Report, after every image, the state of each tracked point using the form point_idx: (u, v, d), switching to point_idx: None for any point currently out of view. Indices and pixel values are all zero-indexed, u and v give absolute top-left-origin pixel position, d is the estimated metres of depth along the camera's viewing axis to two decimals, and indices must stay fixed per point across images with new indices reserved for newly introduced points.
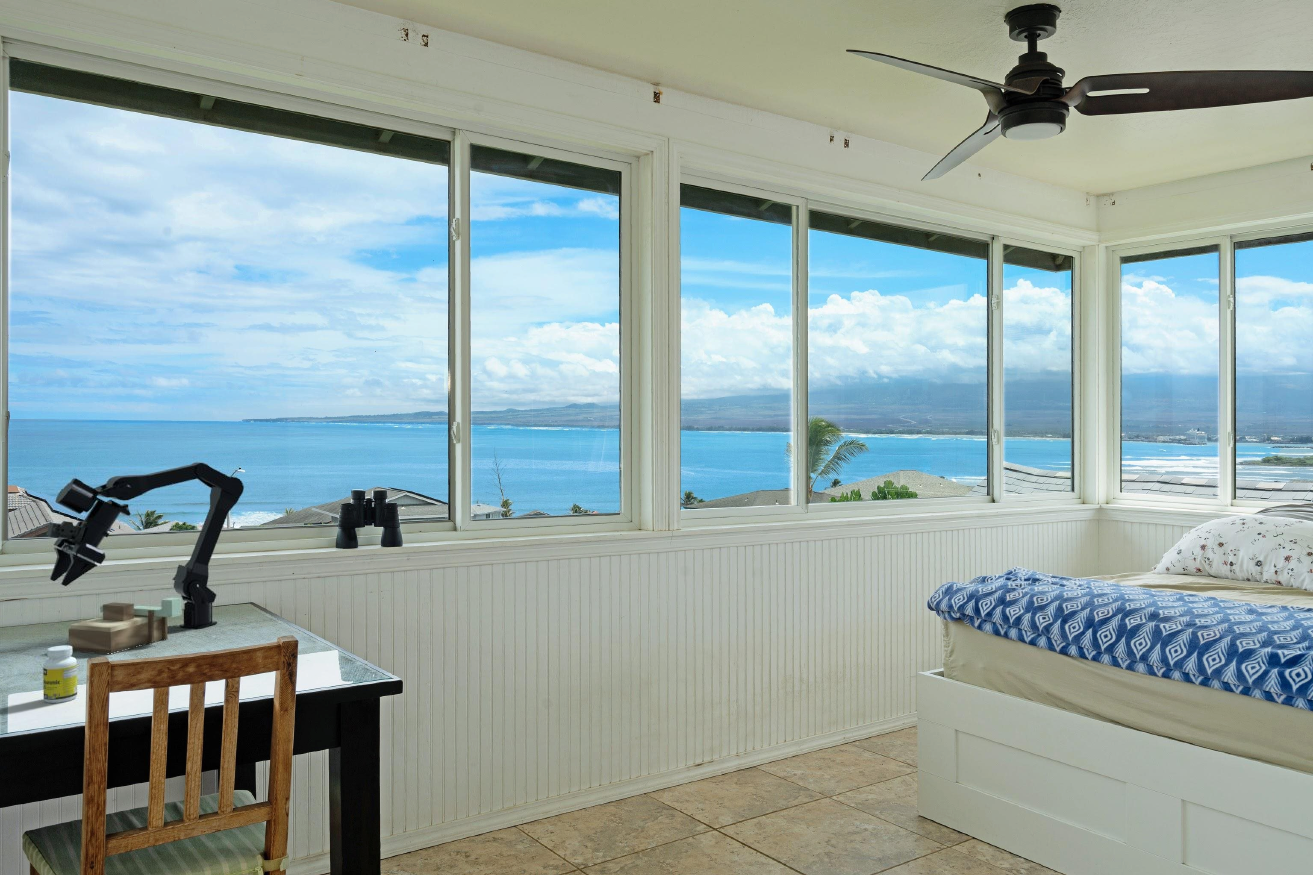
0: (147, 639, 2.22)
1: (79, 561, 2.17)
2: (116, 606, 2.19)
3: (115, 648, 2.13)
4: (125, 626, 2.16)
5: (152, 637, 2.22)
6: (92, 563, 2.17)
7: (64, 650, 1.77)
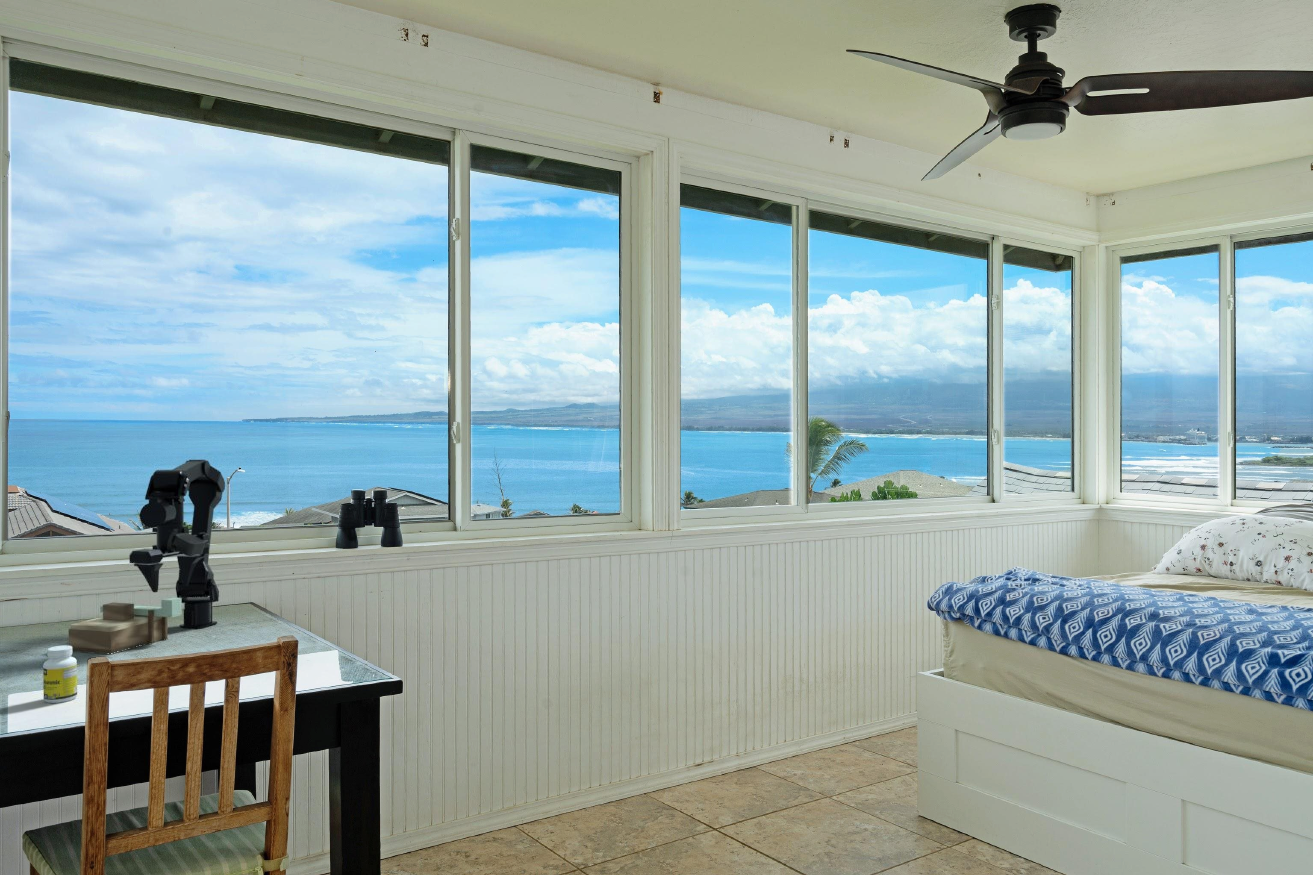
0: (147, 639, 2.22)
1: None
2: (116, 606, 2.19)
3: (115, 648, 2.13)
4: (125, 626, 2.16)
5: (152, 637, 2.22)
6: None
7: (64, 650, 1.77)
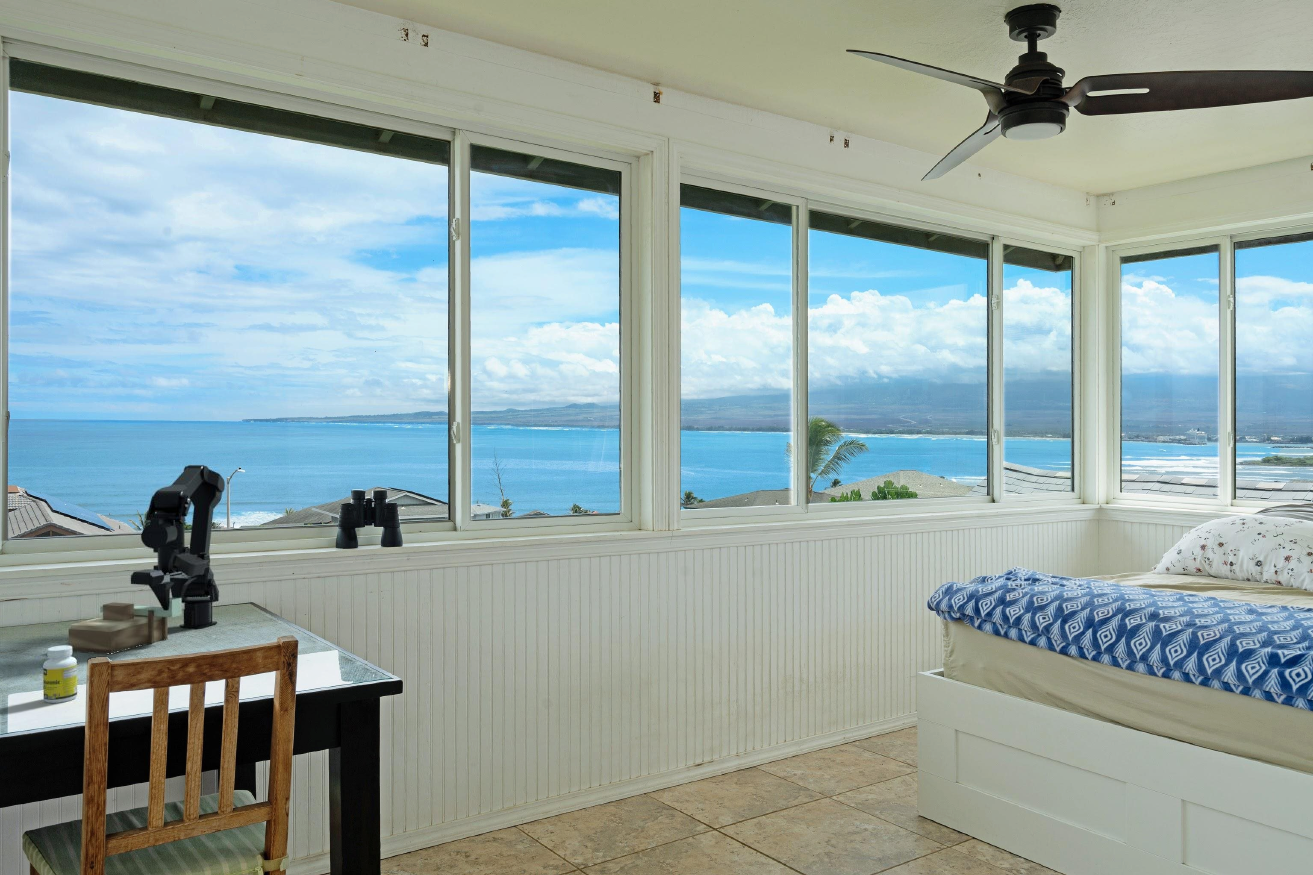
0: (147, 639, 2.22)
1: None
2: (116, 606, 2.19)
3: (115, 648, 2.13)
4: (125, 626, 2.16)
5: (152, 637, 2.22)
6: None
7: (64, 650, 1.77)
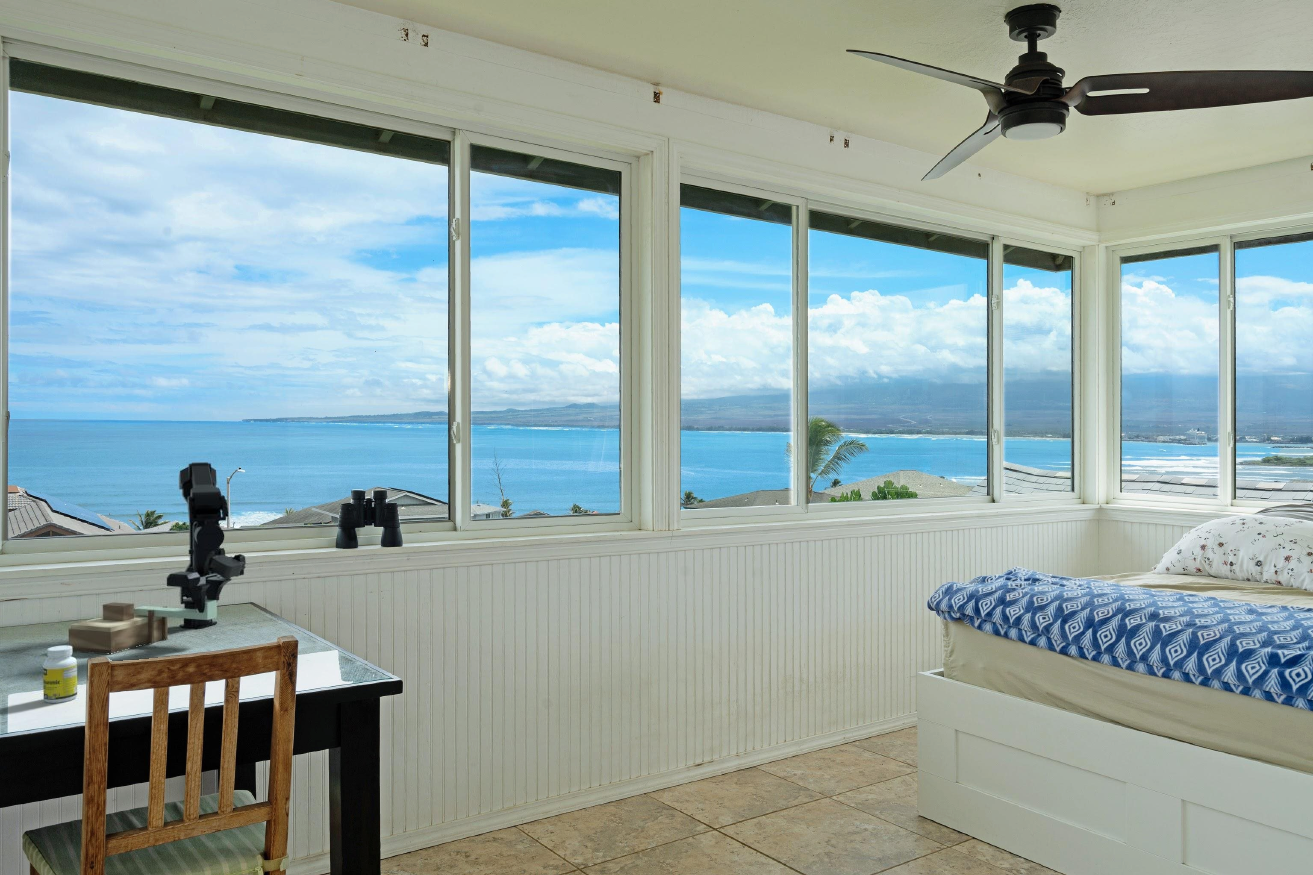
0: (147, 639, 2.22)
1: None
2: (116, 606, 2.19)
3: (115, 648, 2.13)
4: (125, 626, 2.16)
5: (152, 637, 2.22)
6: None
7: (64, 650, 1.77)
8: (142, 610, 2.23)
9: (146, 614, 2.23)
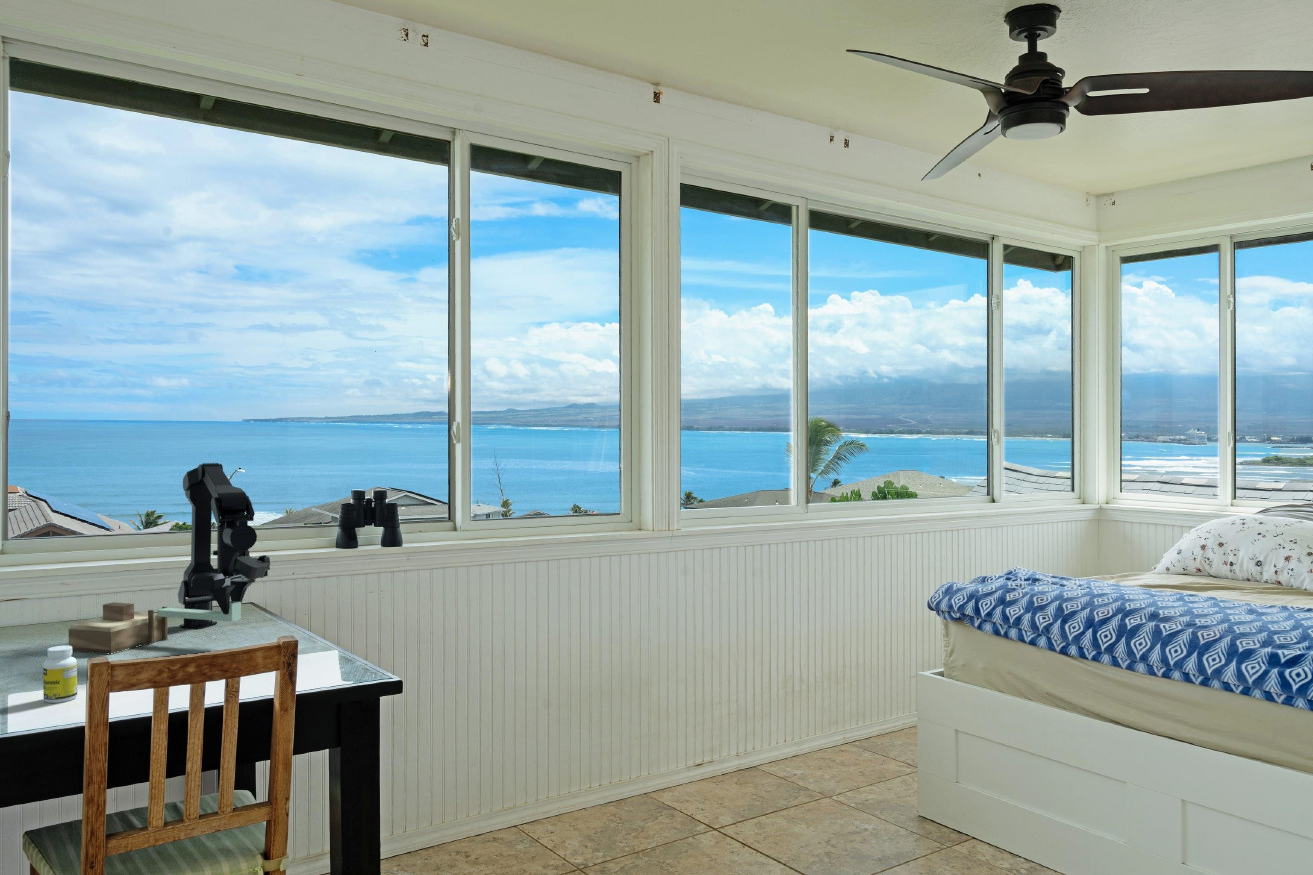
0: (147, 639, 2.22)
1: None
2: (116, 606, 2.19)
3: (115, 648, 2.13)
4: (125, 626, 2.16)
5: (152, 637, 2.22)
6: None
7: (64, 650, 1.76)
8: (165, 612, 2.22)
9: (169, 616, 2.21)
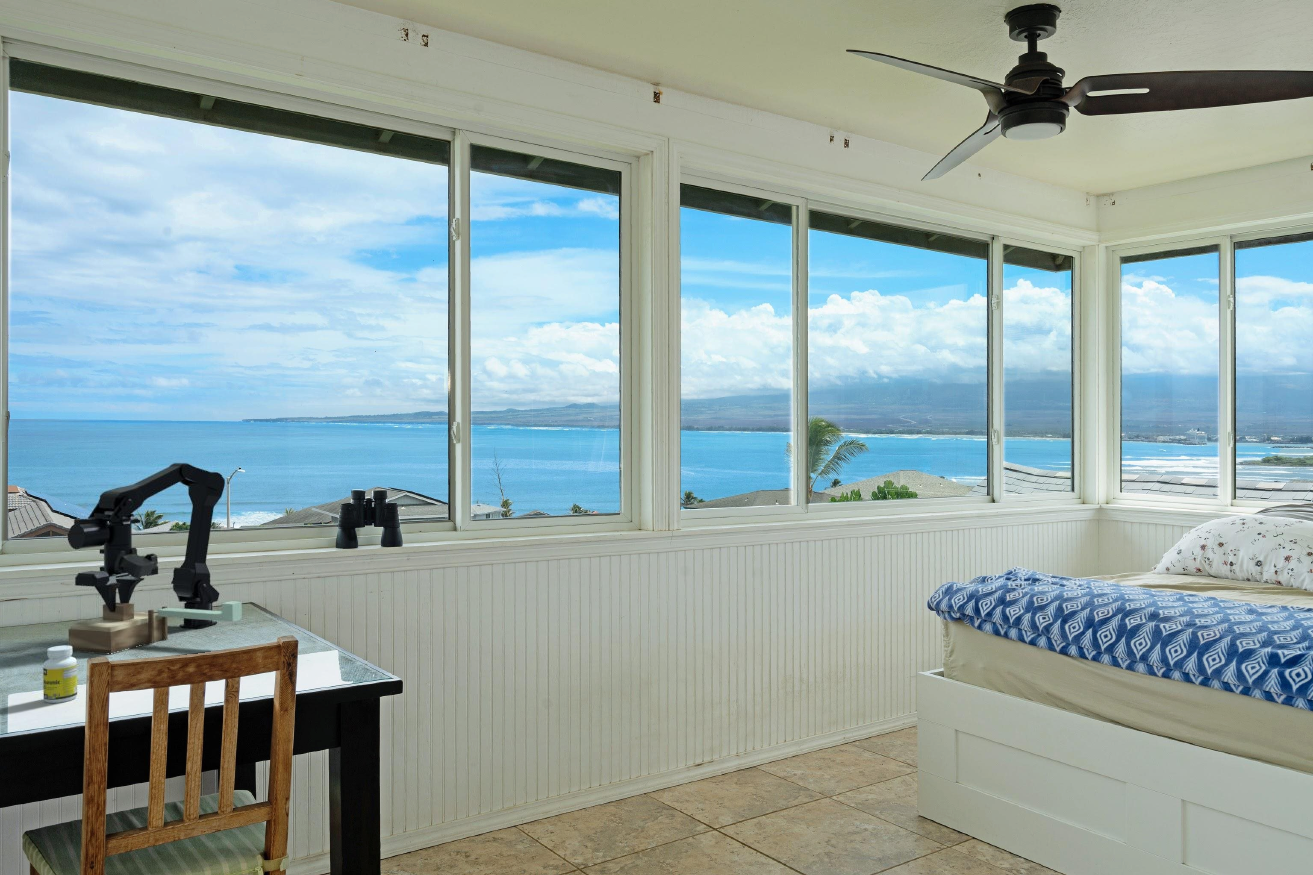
0: (147, 639, 2.22)
1: None
2: (116, 606, 2.19)
3: (115, 648, 2.13)
4: (125, 626, 2.16)
5: (152, 637, 2.22)
6: None
7: (64, 650, 1.77)
8: (166, 612, 2.22)
9: (170, 616, 2.21)
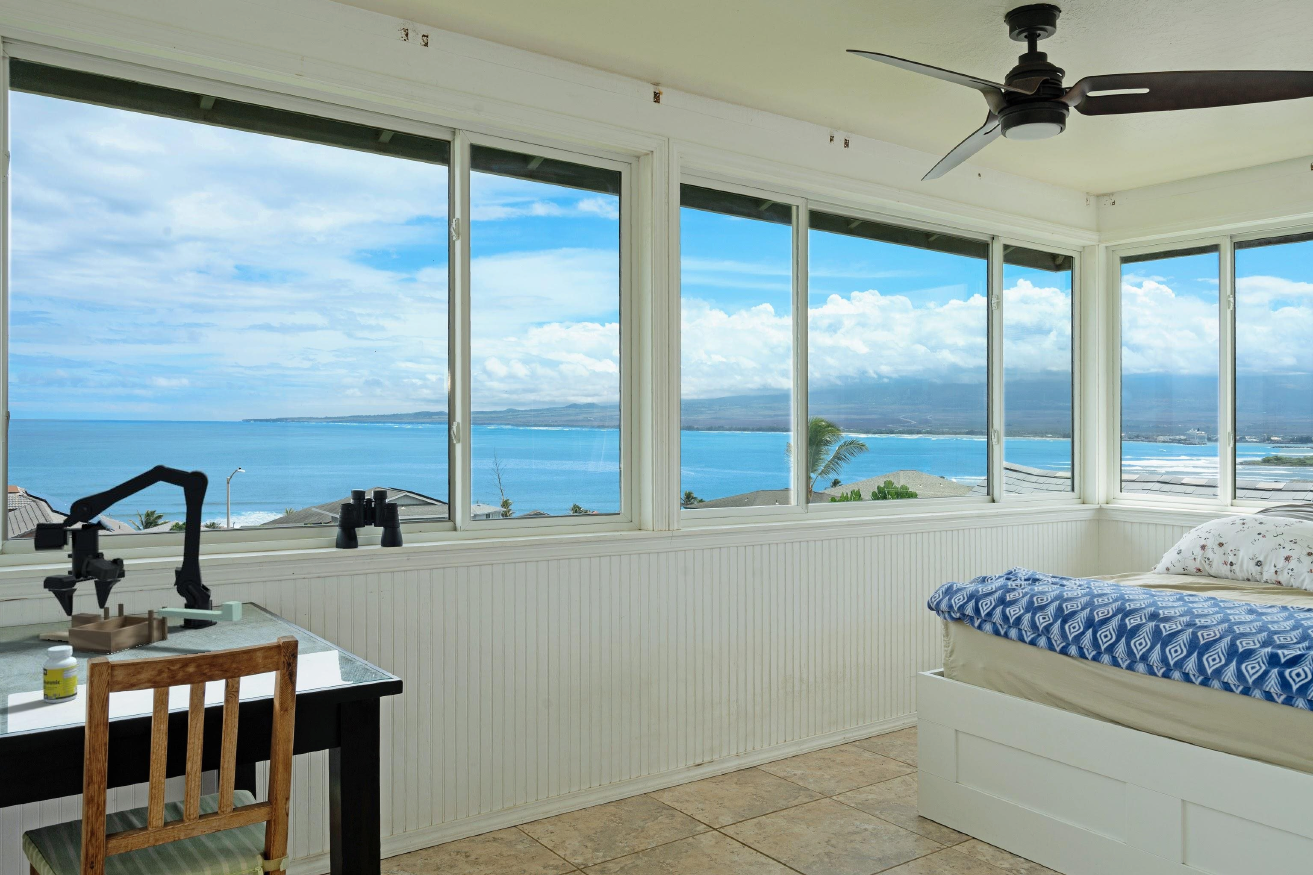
0: (147, 639, 2.22)
1: None
2: (84, 617, 2.30)
3: (115, 648, 2.13)
4: None
5: (152, 637, 2.22)
6: None
7: (64, 650, 1.76)
8: (166, 612, 2.22)
9: (170, 616, 2.21)
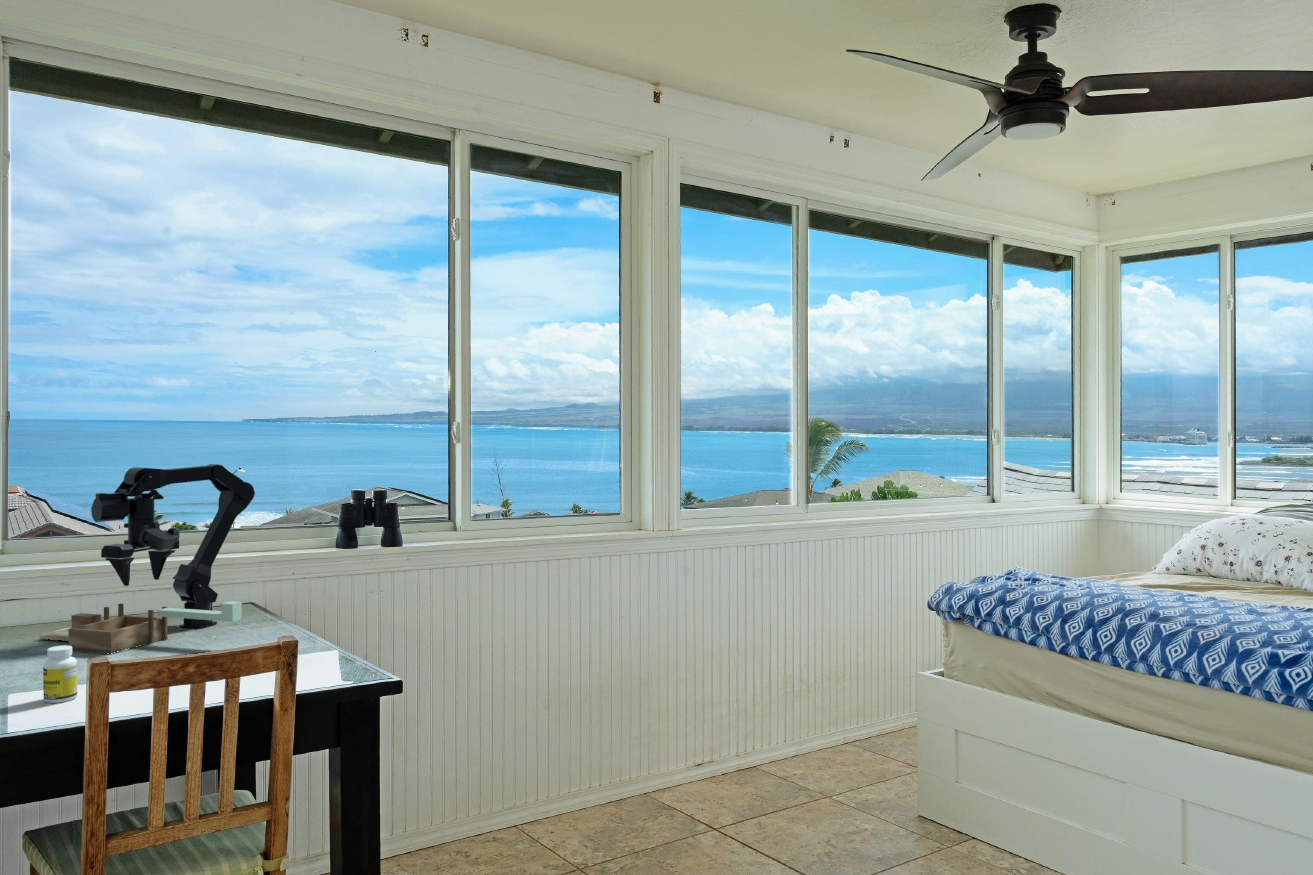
0: (147, 639, 2.22)
1: None
2: (84, 617, 2.30)
3: (115, 648, 2.13)
4: None
5: (152, 637, 2.22)
6: None
7: (64, 650, 1.77)
8: (166, 612, 2.22)
9: (170, 616, 2.21)
